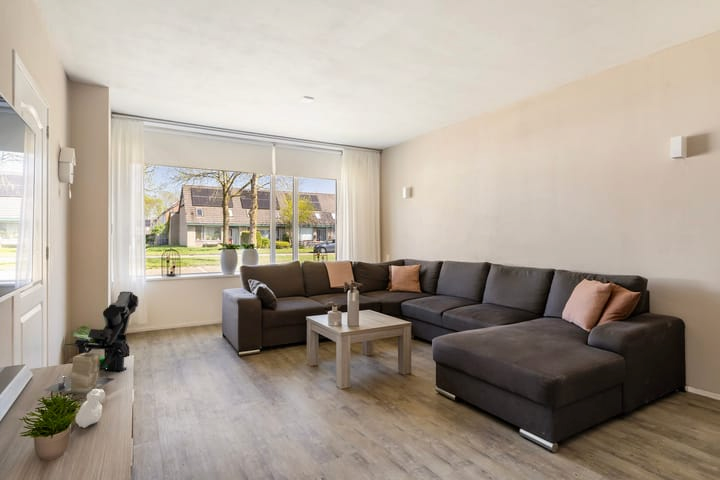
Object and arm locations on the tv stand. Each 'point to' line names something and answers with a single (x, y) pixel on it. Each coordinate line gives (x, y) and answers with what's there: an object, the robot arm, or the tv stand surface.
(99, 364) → the green block
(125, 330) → the robot arm
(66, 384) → the peg plate
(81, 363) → the sleeve
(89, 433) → the tv stand surface
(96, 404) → the bust
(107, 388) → the tv stand surface
